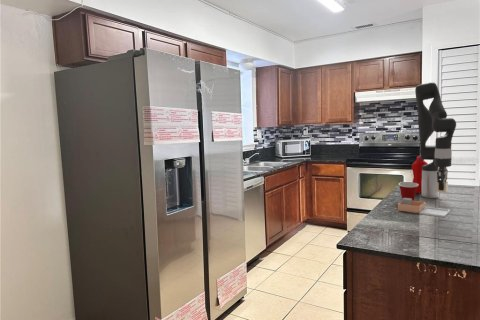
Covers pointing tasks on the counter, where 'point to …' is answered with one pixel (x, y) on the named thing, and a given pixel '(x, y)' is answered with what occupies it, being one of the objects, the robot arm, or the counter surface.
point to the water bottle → (418, 172)
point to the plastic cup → (408, 189)
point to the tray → (435, 211)
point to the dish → (412, 207)
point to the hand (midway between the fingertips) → (442, 189)
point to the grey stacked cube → (407, 201)
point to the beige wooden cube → (444, 187)
